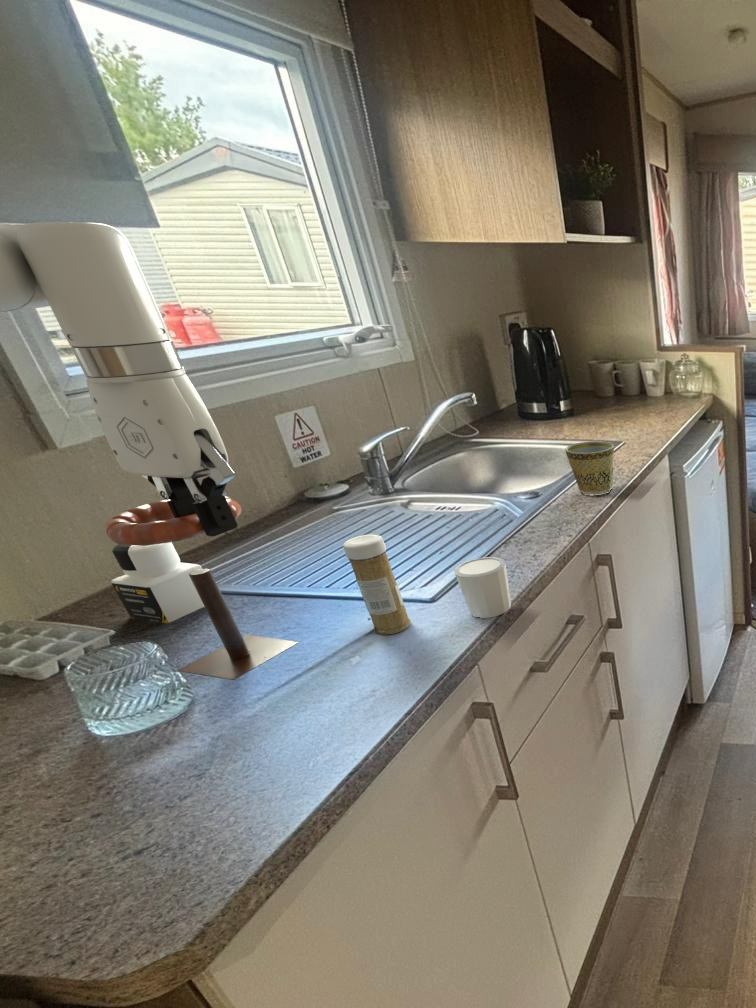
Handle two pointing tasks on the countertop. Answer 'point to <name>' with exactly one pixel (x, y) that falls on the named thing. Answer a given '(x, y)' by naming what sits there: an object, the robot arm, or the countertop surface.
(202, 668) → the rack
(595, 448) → the ceramic cup
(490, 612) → the white tapered tub
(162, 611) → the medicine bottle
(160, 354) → the robot arm
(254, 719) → the countertop surface
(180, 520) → the ring
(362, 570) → the sprinkles bottle
